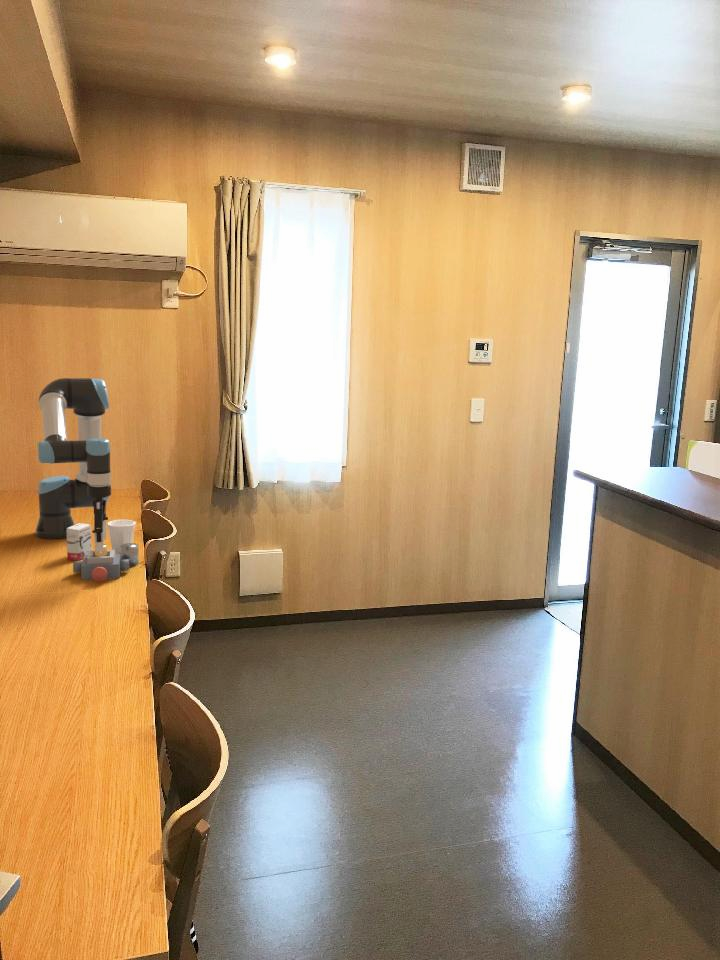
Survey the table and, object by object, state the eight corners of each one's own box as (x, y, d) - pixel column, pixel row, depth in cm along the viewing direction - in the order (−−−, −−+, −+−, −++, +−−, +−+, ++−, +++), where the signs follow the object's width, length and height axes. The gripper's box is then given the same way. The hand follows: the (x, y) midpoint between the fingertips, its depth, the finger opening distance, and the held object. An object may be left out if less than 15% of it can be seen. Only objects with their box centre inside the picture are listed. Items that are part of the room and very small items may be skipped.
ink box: (79, 561, 257) (77, 529, 254) (66, 559, 257) (65, 528, 255) (92, 554, 265) (91, 523, 262) (80, 552, 266) (79, 522, 263)
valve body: (75, 569, 248) (75, 549, 247) (129, 566, 253) (129, 547, 252) (70, 584, 233) (69, 564, 232) (128, 581, 238) (127, 561, 237)
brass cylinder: (95, 569, 246) (94, 544, 244) (108, 568, 247) (107, 543, 245) (95, 572, 242) (94, 547, 240) (107, 572, 243) (106, 547, 242)
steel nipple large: (121, 561, 258) (121, 543, 256) (138, 561, 259) (138, 542, 258) (120, 567, 252) (120, 548, 251) (138, 566, 254) (138, 547, 252)
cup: (141, 554, 266) (141, 521, 264) (125, 562, 257) (124, 527, 255) (119, 551, 270) (118, 518, 267) (102, 558, 260) (101, 524, 258)
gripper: (90, 476, 249) (92, 534, 254) (83, 493, 226) (86, 556, 230) (112, 476, 251) (114, 533, 256) (108, 492, 228) (110, 555, 232)
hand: (100, 544), depth 243 cm, fingers open, 13 cm apart
